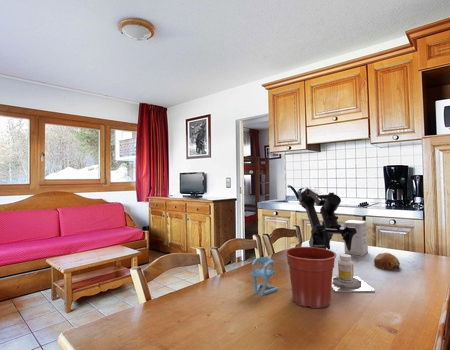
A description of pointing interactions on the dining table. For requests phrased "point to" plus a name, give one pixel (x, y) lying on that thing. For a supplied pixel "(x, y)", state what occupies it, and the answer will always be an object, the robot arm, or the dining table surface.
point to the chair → (263, 276)
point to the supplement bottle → (345, 269)
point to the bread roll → (386, 261)
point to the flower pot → (311, 275)
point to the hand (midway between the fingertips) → (339, 249)
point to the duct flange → (350, 286)
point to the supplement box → (357, 237)
